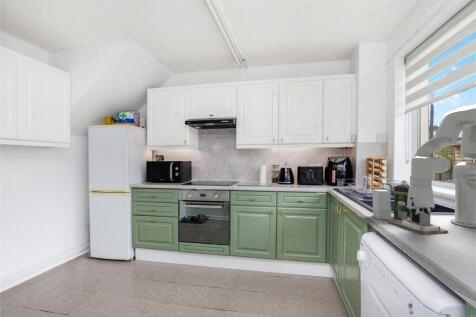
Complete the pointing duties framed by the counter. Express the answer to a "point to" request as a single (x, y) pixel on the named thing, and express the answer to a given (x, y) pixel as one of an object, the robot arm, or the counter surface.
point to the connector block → (422, 219)
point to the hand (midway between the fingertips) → (420, 221)
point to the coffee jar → (401, 202)
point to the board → (408, 219)
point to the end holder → (426, 228)
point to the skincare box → (381, 204)
